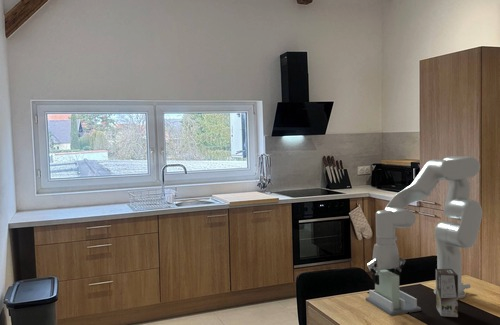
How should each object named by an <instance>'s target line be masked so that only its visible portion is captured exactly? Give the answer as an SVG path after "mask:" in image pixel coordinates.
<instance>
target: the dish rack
mask: <svg viewBox="0 0 500 325" xmlns="http://www.w3.org/2000/svg"><path fill="white" fill-rule="evenodd" d="M368 293H369V294H368V297H365V301H366V302H368V303H369V304H371V305H373V306H375V307H376V308H378V309H379V310H381V311H383V312H384V313H385V314H387V315H389V316H396V314H397V315H401V313H403V314H407V313H408V312H409V313H414V312H420V311H422V308H421V307H420V306H418V304H417V303H418V298H415V297H414V296H412V295H410V294H408V293H407V292H404V291H403V290H400V289H399V296H400V308H397V309H393V302H391V301H390V300H388V299H386V298H384V297H383V296H381V295H379V294H377V293H376V292H375V290H372V289H369V290H368Z"/></svg>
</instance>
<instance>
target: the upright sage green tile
mask: <svg viewBox="0 0 500 325" xmlns="http://www.w3.org/2000/svg"><path fill="white" fill-rule="evenodd" d="M378 275H379V285H377V284H375V283H374V292H376V293H377V294H379V295H381V296H383V297H384V298H386V299H388V300H390V301H391V302H393V309H397V308H400V296H399V290H400V282H399V275H396V274H394V272H392V271H391V270H389V269H386V270H380V272H379V273H378Z"/></svg>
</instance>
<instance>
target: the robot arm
mask: <svg viewBox="0 0 500 325" xmlns="http://www.w3.org/2000/svg"><path fill="white" fill-rule="evenodd" d="M480 170H481V164H480V161H479V160H478V159H477V158H475V157H473V156H457V155H455V156H453V155H451V156H450V155H449V156H446V157H444V158H443V159H435V158H433V159H430V160H428V161H426V163H425V164H424V165H423V167H422V168H421V169H420V170H419V172H418V174H417V175H416V176H415V177H414V180H413V181H412V182H411V183H410V185H408V186H406V187H405V188H404V189H402V190H401V191H399V192H397V193H396V194H395V195H393V197H392V198H391V199H390V201H389V202H388V203H387V204H386V206H385V207H384V209H381V210H377V211H376V212H375V244H374V245H373V250H372V260H371V261H369V262H368V263H367V264H366V266H367V268H368V270H369V272H370V273H371V274H372V281H373V283H374V285H375V284H377V285H379V275H378V273H379V272H380V270H391V269H394V270H393V273H394V274H396V275H399V283H400V282H401V273H402V271H403V268H404V266H405V263H406V259H404V258H402V257H400V255H399V254H400V252H399V248H398V244H397V242H396V241H398V239H399V238H398V237H397V236H396V228H400V229H406V228H407V229H408V228H410V227H412V226H413V225H414V224H415V223H416V215H415V213H413V211H411V210H409V209H405V208H406V207H407V206H408V205H410V204H412V203H415V202H418V201H422V200H424V199H427V198H428V197H429V196H430V195H431V193H432V192H433V191H434V189H435V188H436V186H438V183H440V181H447V182H448V191H447V195H446V198H445V203H444V207H443V214H444V216H445V217H446V218H448V219H451V220H456V221H459V222H460V223H457V222H452V221H440V222H439V223H437V224H436V226H435V227H434V238H435V242H436V243H435V244H436V253H437V255H436V256H437V258H436V261H437V264H436V266H437V268H436V269H452V270H453V271H454V272H455V273H456V274H457V275H458V300H460V299H463V298H466V292H465V291H464V290H467V289H471V288H472V286H471V284H470V283H465V284H464V283H463V282H462V251H461V249H470V248H472V247H473V246H474V245H475V244H476V242H477V239H478V235H479V230H480V226H481V223H482V218H483V208H482V206H481V204H480V203H479V202H478V201H477V200H474V199H470V192H471V183H470V182H469V178H473V177H475V176H477V175H478V174H479V172H480ZM460 248H461V249H460ZM433 293H434V295H436V287H435V288H434V289H433Z"/></svg>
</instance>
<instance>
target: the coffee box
mask: <svg viewBox="0 0 500 325" xmlns="http://www.w3.org/2000/svg"><path fill="white" fill-rule="evenodd" d="M435 288H436V294H435V299H436V301H435V307H436V311H437V312H438V313H439V315H440V316H441V317H449V318H458V317H459V299H458V275H457V274H456V273H455V272H454V271H453V270H452V269H437V268H435Z"/></svg>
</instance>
